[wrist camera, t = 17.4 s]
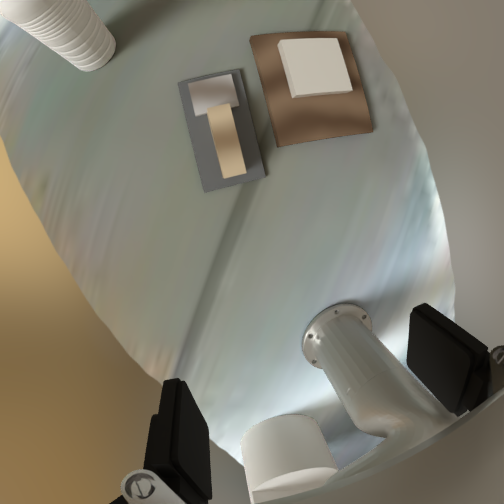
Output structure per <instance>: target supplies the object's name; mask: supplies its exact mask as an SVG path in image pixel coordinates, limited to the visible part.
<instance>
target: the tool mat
mask: <svg viewBox="0 0 504 504" xmlns="http://www.w3.org/2000/svg"><path fill="white" fill-rule="evenodd" d="M228 74H231V75H232V79H233V83H234V87H235V91H236V95H237V99H238V102H239V107H235V108H231V111H232V115H233V119H234V123H235V127H236V131H237V135H238V139H239V144H240V148H241V152H242V156H243V160H244V164H245V168H246V172H247V173H245V174H241V175H237V176H233V177H229V178H225V179H224V178H223V176H222V172H221V168H220V164H219V160H218V156H217V152H216V148H215V144H214V140H213V136H212V132H211V128H210V124H209V120H208V116H207V114H205V115H201V116H197V117H196V116H195V112H194V108H193V103H192V99H191V95H190V91H189V86H188V83H192V82H196V81H200V80H205V79H209V78H214V77H218V76H223V75H228ZM178 87H179V91H180V95H181V100H182V104H183V108H184V113H185V117H186V121H187V125H188V129H189V133H190V138H191V142H192V146H193V150H194V154H195V158H196V162H197V166H198V170H199V174H200V178H201V182H202V185H203V189H204V193H205V192H209V191H213V190H217V189H220V188H224V187H228V186H232V185H236V184H240V183H244V182H248V181H252V180H257V179H261V178H265V177H266V176H265V172H264V168H263V163H262V159H261V155H260V151H259V146H258V142H257V138H256V134H255V130H254V126H253V122H252V118H251V114H250V110H249V106H248V102H247V98H246V94H245V90H244V86H243V82H242V78H241V74H240V71H239V69H237V70H232V71H226V72H221V73H217V74H212V75H207V76H203V77H199V78H194V79H190V80H187V81H183V82H179V83H178Z"/></svg>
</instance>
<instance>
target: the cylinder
mask: <svg viewBox="0 0 504 504" xmlns="http://www.w3.org/2000/svg"><path fill="white" fill-rule="evenodd" d="M240 445H241V451H242V456H243V462H244V468H245V473H246V478H247V484H248V489H249V495H250V500H251V504H256V503H261V502H265V501H270V500H274V499H278V498H283V497H287V496H291V495H295V494H298V493H302V492H305V491H309V490H312V489H316V488H319V487H322V486H323V485H324V483H325V482H326V481H327V480H328V479H329V478H330V477H331V476H332V475H334V474H335V473H337V472H338V471H339V470H338V468H337V466H336V463H335V461H334V459H333V457H332V454H331V452H330V450H329V448H328V445H327V443H326V441H325V439H324V436H323V434H322V432H321V430H320V428H319V425H318V423H317V422H316V421H315V420H314V419H313V418H311V417H308V416H306V415H298V414H290V415H281V416H276V417H272V418H270V419H267V420H264V421H262V422H260V423H258V424H256V425H254V426H253V427H251V428H250V429H249V430H248V431H246V433H245V434H244V435H243V437H242V439H241V443H240Z"/></svg>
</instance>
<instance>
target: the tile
mask: <svg viewBox="0 0 504 504" xmlns="http://www.w3.org/2000/svg"><path fill="white" fill-rule="evenodd" d="M277 46H278V49H279V52H280V56H281V59H282V63H283V66H284V70H285V74H286V77H287V81H288V85H289V88H290V92H291V96H292V98H299V97H308V96H317V95H328V94H341V93H348V92H350V91H352V86H351V82H350V79H349V75H348V72H347V68H346V65H345V62H344V58H343V55H342V52H341V49H340V46H339V43H338V40H337V38H305V39H287V40H280V42H279V43H278V45H277Z"/></svg>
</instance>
